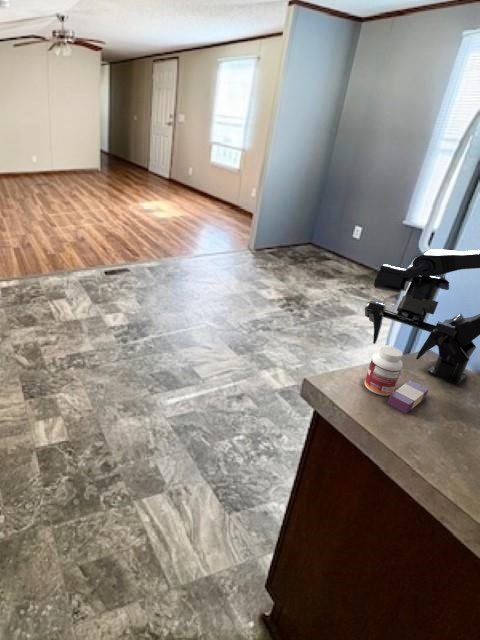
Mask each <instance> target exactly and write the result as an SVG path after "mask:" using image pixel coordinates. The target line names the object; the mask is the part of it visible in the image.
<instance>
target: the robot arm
mask: <svg viewBox="0 0 480 640" xmlns="http://www.w3.org/2000/svg"><path fill="white" fill-rule="evenodd" d="M413 259H414V260H413V261H412V264H410V265H409V266H407V267H406V268H400V267H396V266H391V265H389V264H382V265H381V266H380V268H379V271H378V273H377V275H376V277H375V278H374V281H373V282H374V283H373V287H374V289H377V290H381V291H385V292H389V293H394V294H398V295H399V294H401V293H402V291H403V292H405V294H404V295H403V296H402V298H401V299H400V302H399V303H398V306H397V307H396V312H393V311H390V310H387V305H386V304H383V303H380V302H377V301H373V300H370V301H368V302H367V303H366V306H365V307H364V317H366V318H368V321H369V322H371V323H373V338H372V339H373V340H372V343H373V345H376V344H377V341H378V338H379V335H380V332H381V329H382V325H383V320H384V318H385V319H388V320H390V321H394V322H398V323H401V324H403V325H407V326H410V327H413V328H415V329H419V330H422V331H426V332H428V333H429V335H428V337H427V339H426V340H425V342H424V343H423V344H422V346H421V347H420V349H419V351H418V353H417V355H416V357H415V360H419V359H420V358H422V357H423V356H424V355H425V354H426V353H427V352H429V350H432V348H434V347H436V346H437V348H438V356H437V358H436V360H435V364H434V365H432V366H431V367H430V368H428V369H427V373H429V374H431V375H433V376H435V377H438V378H440V379H441V380H444V381H447V382H449V383H451V384H453V385H456V386H457V385H459V384H460V383H461V382H462V381H464V380H465V379H466V378H467V374H466V373H465V370H466V368H467V366H468V364H469V361H470V357H471V356H472V354H473V353H474V352H475V350H476V349H477V346H476V344H475V343H474V342H473V341H475V339H476V338H478V337H479V336H480V313H478V314H475V315H474V316H469V317H464V316H463V314H462V313H459V314H457V315H456V316H454V317H452V318H450V319H445V320H443V322H442V321H437V322H436V324H431V323H428V322H425V320H426V317H427V315H428V314H430V315H432V316H433V315H435V313H436V310H437V307H438V305H439V301H437V300H435V297H436V295H437V293H438V290H444V291H449V290H450V281H448V279H446V277H445V275H446V274H449V273H452V272H456V271H461V270H472V269H480V249H478V250H468V251H467V250H466V251H457V250H449V249H428V250H425V251H423V252H422V253H419V255H417V256H416V257H415V258H413ZM441 275H443V276H441ZM436 276H439V277H436Z"/></svg>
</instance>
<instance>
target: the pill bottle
mask: <svg viewBox="0 0 480 640" xmlns="http://www.w3.org/2000/svg"><path fill="white" fill-rule="evenodd" d="M403 356H404V353H403V351H402V350H400V349H399V348H397V347H395V346H392V345H386V344H382V345H380V346H379V348H378V351H377V352H376V353H374V354H373V355H372V357H371V360H370V363H369V366H368V370H367V372H366V375H365V379H364V386H365V387H366V388H367V390H368V391H370V392H372V393H374V394H377V395H379V396H384V397H385V396H390V395H391V394H392V393H393V392H395V391H396V390H395V389H396V387H397V385H398V381H399V378H400V376H401V373H402V370H403V367H404V364H403V361H402V358H403Z"/></svg>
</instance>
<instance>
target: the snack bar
mask: <svg viewBox="0 0 480 640" xmlns="http://www.w3.org/2000/svg"><path fill="white" fill-rule="evenodd" d="M429 390H430V389H429V388H427V387H425V386H423V385H421V384H420V383H417V382H414V381H413V380H408V381H407V382H406V383H404V384H402V385H401V386H400V387H399V388H398V389H396V390H394V392H393V393H392V394H391V395H389V397H388V400H387V403H386V404H387V405H389V406H390V407H393V408H395V409H396V410H398V411H400V412H402V413H404V414H407V413H409V412H410V411H411V410H413V409H414V408H415V407H416V406H417V405H419V404H420V403H421V402H422V401H423V400H425V399H426V397H427V395H428V393H429Z"/></svg>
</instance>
